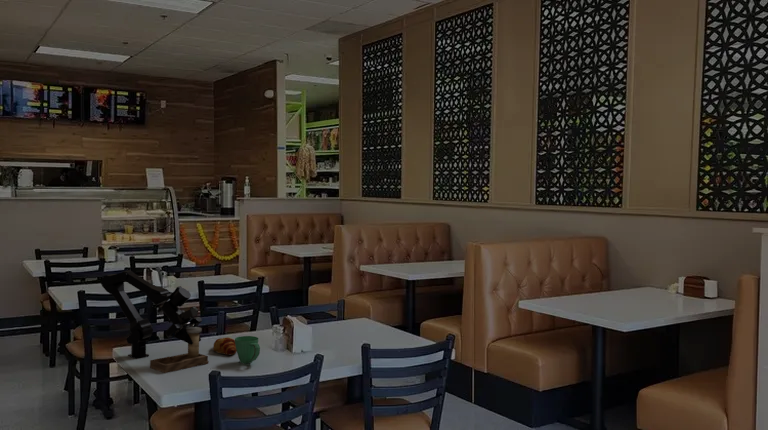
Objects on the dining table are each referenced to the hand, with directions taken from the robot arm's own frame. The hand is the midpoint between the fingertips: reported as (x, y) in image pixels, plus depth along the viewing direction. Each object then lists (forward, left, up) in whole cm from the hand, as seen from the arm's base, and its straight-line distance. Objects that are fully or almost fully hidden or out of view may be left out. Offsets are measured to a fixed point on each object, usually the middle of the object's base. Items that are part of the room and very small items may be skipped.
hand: (196, 342), depth 273 cm
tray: (-1, -7, -9) cm, 11 cm away
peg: (-1, -1, -8) cm, 8 cm away
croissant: (-8, +21, -9) cm, 24 cm away
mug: (+16, +15, -9) cm, 24 cm away
